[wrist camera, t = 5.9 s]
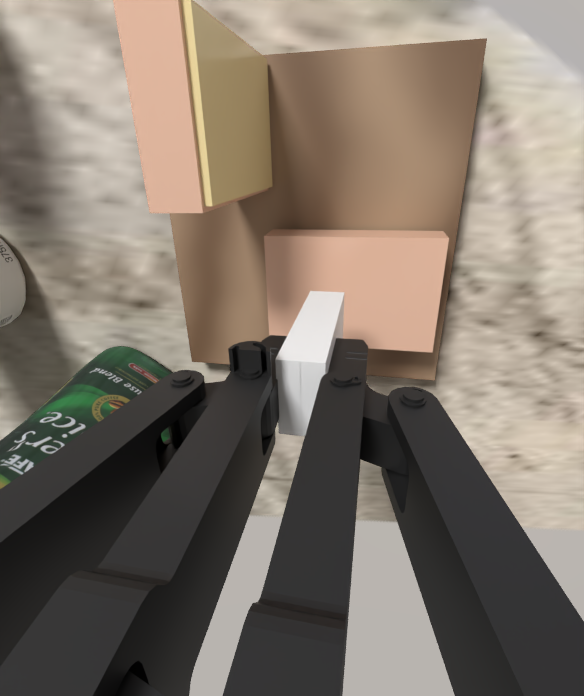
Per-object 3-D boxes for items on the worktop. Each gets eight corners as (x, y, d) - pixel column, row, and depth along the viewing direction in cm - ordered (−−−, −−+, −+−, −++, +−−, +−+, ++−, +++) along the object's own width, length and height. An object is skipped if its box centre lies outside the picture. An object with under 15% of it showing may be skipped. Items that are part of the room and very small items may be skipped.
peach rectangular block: (269, 342, 23) (432, 352, 21) (263, 236, 20) (449, 238, 19) (278, 326, 25) (428, 335, 23) (274, 228, 22) (442, 229, 21)
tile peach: (233, 190, 22) (149, 213, 14) (222, 58, 19) (112, -5, 12) (273, 190, 22) (210, 213, 14) (268, 54, 19) (186, -14, 11)
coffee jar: (224, 401, 31) (42, 689, 14) (176, 457, 34) (-12, 737, 18) (117, 323, 29) (-214, 539, 13) (80, 389, 33) (-216, 623, 17)
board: (200, 351, 29) (192, 361, 28) (161, 69, 21) (147, 63, 20) (431, 368, 26) (434, 380, 25) (479, 46, 18) (486, 38, 17)
